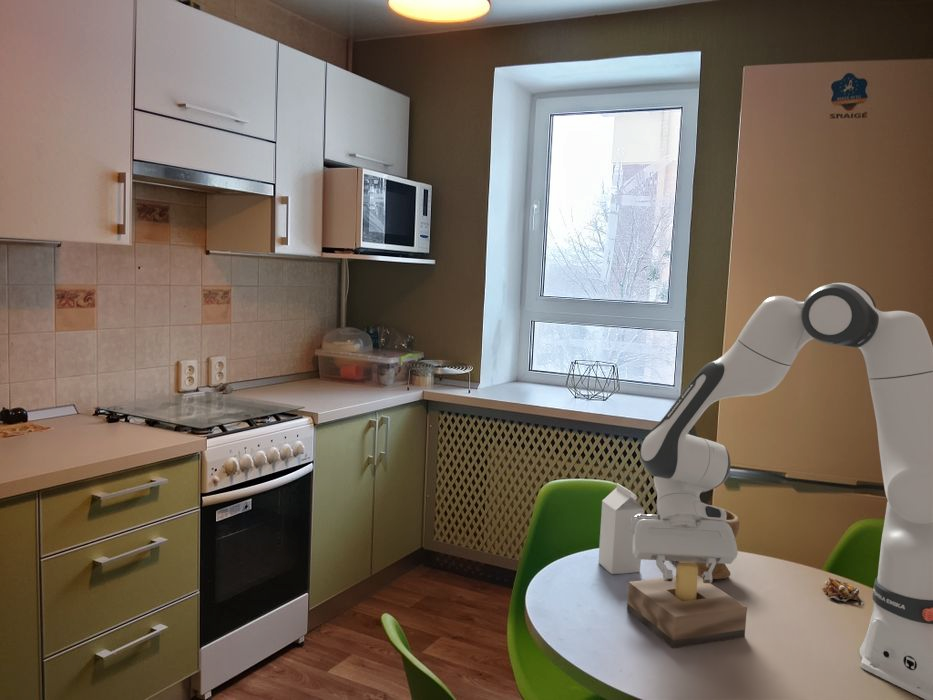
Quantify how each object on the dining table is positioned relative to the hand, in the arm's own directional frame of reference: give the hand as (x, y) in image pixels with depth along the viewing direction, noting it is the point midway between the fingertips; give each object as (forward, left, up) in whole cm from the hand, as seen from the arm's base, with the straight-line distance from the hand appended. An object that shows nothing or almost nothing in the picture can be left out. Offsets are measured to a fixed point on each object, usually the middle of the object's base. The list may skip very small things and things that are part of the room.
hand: (688, 581), depth 154 cm
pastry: (+4, -43, -10) cm, 44 cm away
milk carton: (+29, -2, -9) cm, 30 cm away
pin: (+1, 0, -7) cm, 7 cm away
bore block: (+1, 0, -9) cm, 9 cm away
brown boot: (+23, -21, -9) cm, 32 cm away
